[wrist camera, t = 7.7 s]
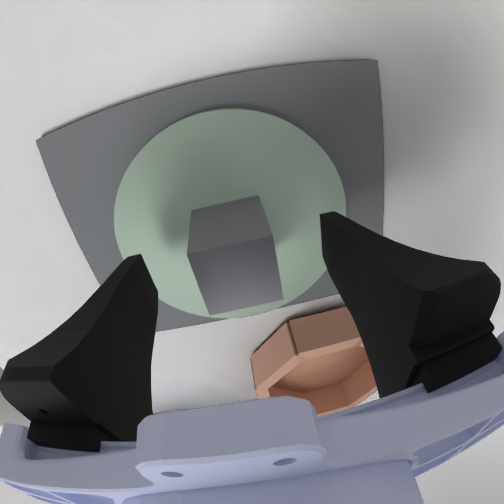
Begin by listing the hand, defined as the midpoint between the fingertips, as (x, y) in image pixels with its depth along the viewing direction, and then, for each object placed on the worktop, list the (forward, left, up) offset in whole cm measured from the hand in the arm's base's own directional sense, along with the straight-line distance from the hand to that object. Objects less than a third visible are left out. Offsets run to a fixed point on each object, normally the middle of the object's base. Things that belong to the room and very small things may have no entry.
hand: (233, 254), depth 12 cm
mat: (0, 0, -4) cm, 4 cm away
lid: (0, 0, -3) cm, 3 cm away
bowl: (+4, -13, -4) cm, 14 cm away
